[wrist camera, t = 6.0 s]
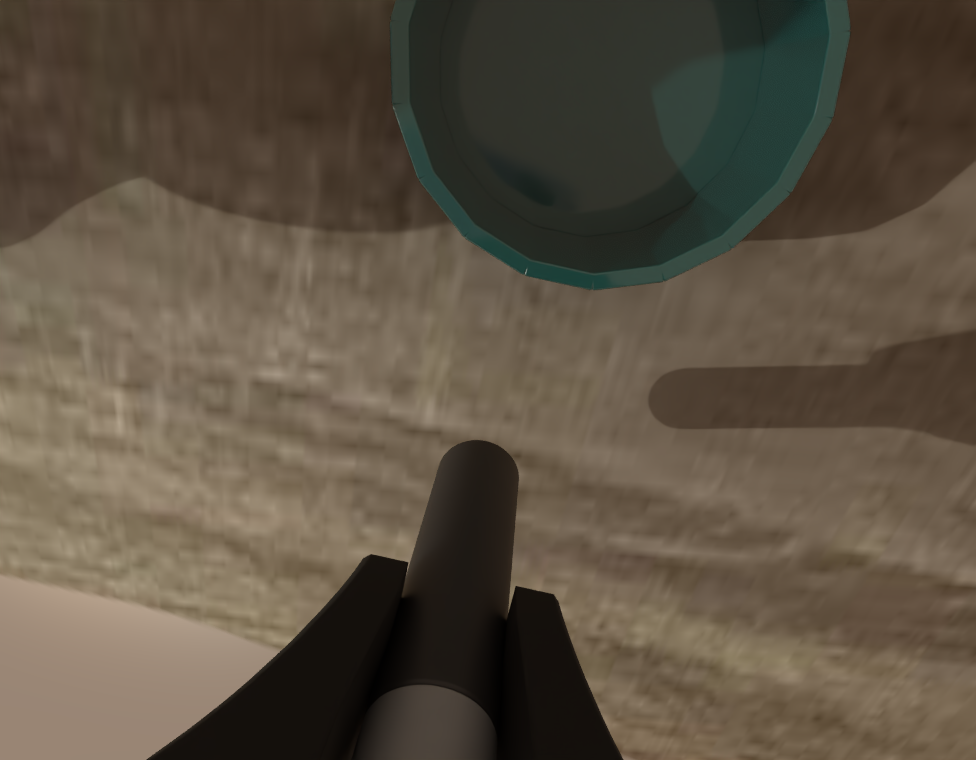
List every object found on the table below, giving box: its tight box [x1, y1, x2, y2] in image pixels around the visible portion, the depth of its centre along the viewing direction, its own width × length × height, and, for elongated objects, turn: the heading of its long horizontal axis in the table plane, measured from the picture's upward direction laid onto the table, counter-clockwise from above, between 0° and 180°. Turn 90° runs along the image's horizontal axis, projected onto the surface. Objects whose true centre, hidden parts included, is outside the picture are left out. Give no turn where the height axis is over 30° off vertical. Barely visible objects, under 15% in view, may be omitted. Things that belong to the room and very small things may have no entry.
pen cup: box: [390, 0, 851, 290], centre depth 14 cm, size 8×8×4 cm
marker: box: [351, 440, 519, 760], centre depth 12 cm, size 2×2×8 cm
